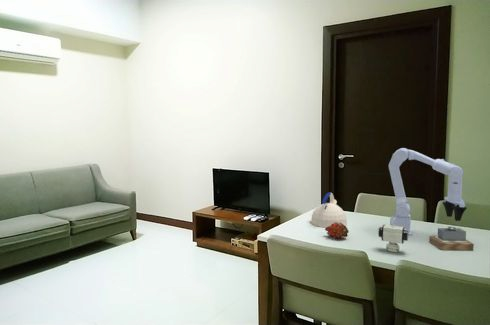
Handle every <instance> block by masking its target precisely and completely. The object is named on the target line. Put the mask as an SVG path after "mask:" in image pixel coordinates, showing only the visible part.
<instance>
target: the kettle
mask: <svg viewBox="0 0 490 325" xmlns="http://www.w3.org/2000/svg"><path fill="white" fill-rule="evenodd" d="M328 198H329V202H327V200H328ZM337 203H338V201H337V199H335V196H334V194H333V193H332V192H327V193H326V194H325V195H324V197H323V199H322V200H321V204H320V205H318V206H316V208H315V209H313V210H314V211H312V214H311V221H310V223H311V224H312V225H313V226H315V227H318V228H326V227H328V226H331V225H332V224H334V222H337V223H339V224H340V223H342V224H343V225H344V226H346V227H347V225H348V223H347V222H348V220H347V215H346V213H345V211H344V210H343V208H342V207H340V206H339V205H338V204H337Z"/></svg>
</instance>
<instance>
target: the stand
mask: <svg viewBox="0 0 490 325" xmlns="http://www.w3.org/2000/svg"><path fill="white" fill-rule="evenodd" d="M428 242H429V243H430V244H432V245H433V246H435V247H436V248H437V249H439V250H441V251H474V245H475V243H473V242H472V241H470V240H468V239H466V241H443V240H441V239H439V238H438V235H429V241H428Z"/></svg>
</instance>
